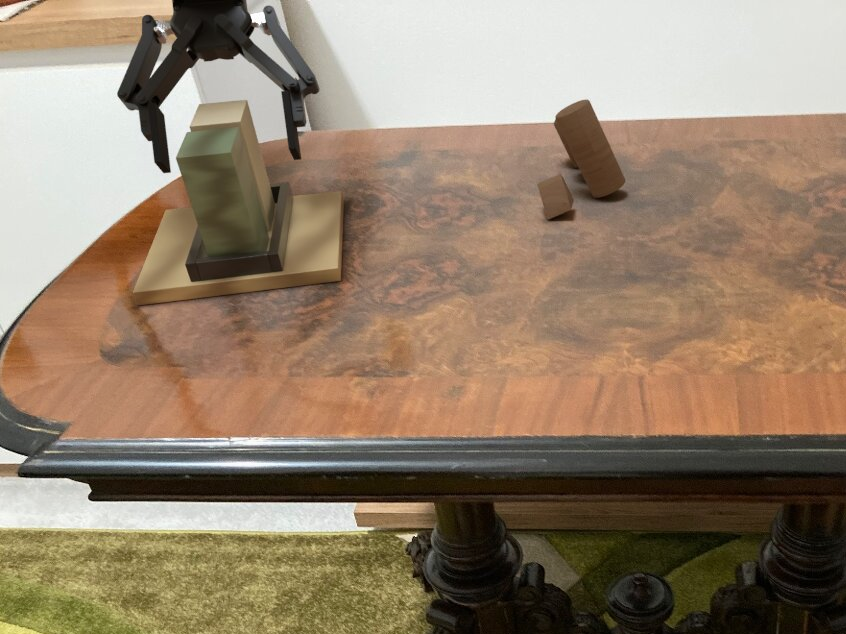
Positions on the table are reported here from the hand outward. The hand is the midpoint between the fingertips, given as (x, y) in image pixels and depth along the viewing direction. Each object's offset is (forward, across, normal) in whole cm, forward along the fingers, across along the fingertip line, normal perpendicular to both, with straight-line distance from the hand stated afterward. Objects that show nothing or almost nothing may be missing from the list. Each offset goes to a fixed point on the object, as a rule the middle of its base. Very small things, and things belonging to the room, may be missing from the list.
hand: (229, 161), depth 98 cm
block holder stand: (+8, 0, -4) cm, 9 cm away
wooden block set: (+4, -39, -9) cm, 40 cm away
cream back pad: (+4, 0, -6) cm, 7 cm away
